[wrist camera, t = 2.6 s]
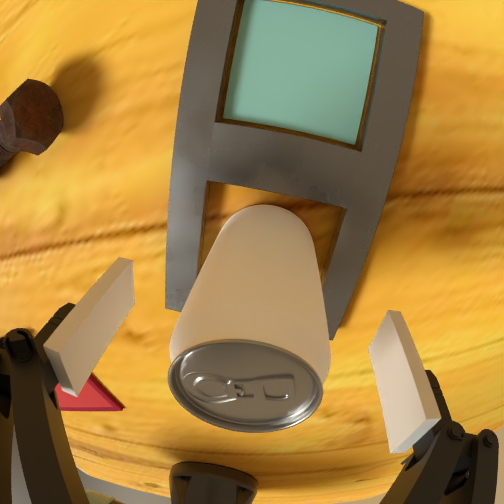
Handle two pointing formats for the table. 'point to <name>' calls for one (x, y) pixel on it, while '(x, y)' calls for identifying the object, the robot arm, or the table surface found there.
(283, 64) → the pad
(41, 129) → the bolt
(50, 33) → the table surface
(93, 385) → the red board with handle
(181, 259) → the grey flat frame
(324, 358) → the can
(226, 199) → the table surface
